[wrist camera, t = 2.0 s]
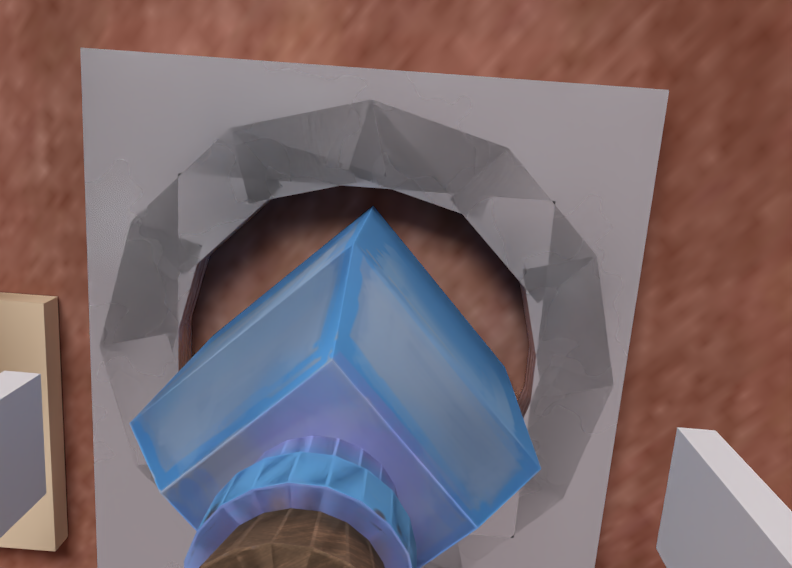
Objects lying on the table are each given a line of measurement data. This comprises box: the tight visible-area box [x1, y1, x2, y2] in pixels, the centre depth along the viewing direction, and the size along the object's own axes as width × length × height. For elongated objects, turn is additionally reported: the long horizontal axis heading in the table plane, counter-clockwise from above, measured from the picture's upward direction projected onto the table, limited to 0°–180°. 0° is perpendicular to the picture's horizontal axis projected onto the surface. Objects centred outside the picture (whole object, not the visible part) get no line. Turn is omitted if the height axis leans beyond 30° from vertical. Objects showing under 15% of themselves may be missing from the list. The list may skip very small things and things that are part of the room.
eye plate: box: [81, 48, 669, 568], centre depth 20 cm, size 15×16×1 cm
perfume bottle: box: [129, 206, 541, 568], centre depth 15 cm, size 6×6×12 cm
